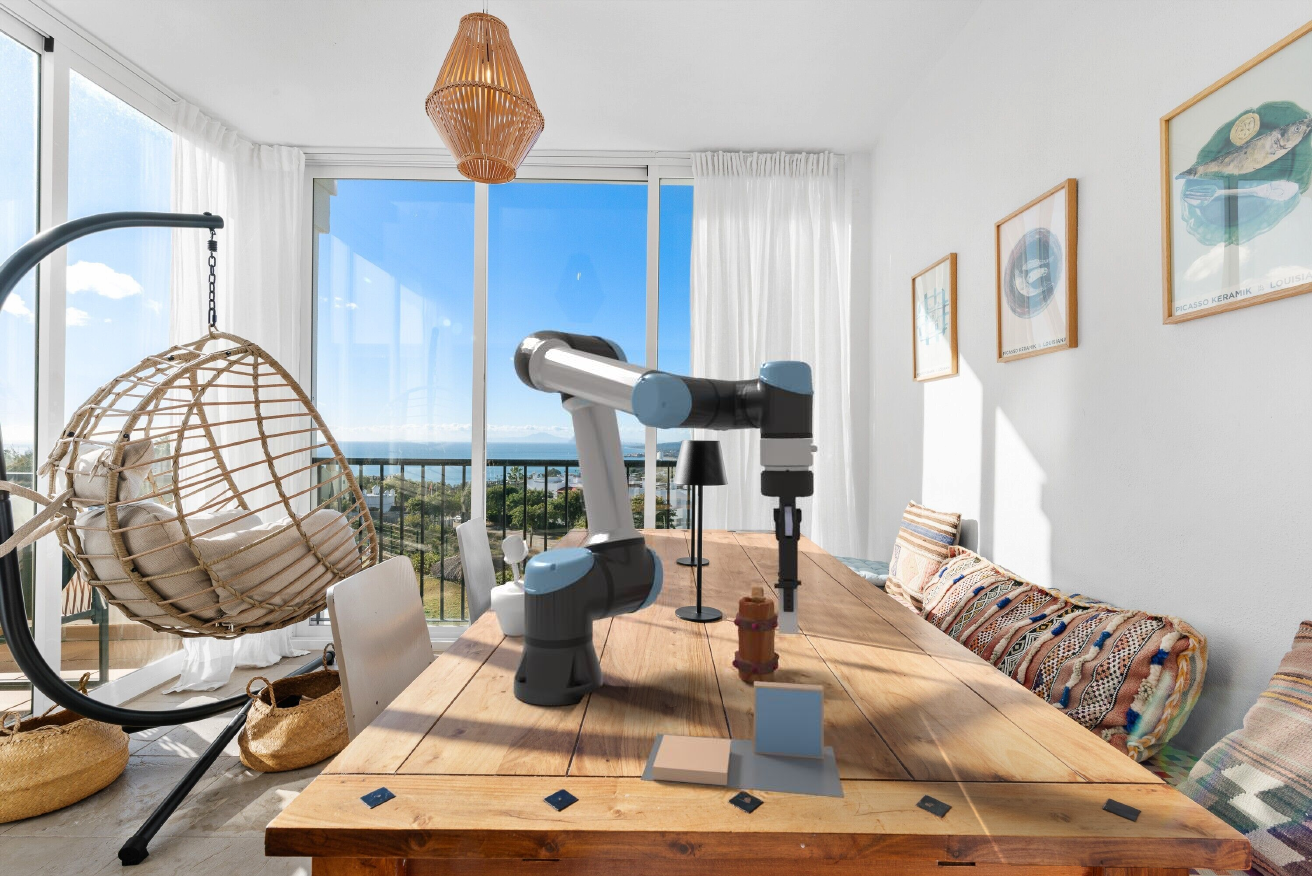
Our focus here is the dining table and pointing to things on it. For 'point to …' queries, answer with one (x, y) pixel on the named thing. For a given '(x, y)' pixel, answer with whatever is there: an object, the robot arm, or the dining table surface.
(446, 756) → the dining table surface
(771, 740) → the tile right
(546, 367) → the robot arm
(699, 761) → the tile left
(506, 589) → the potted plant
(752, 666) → the mug
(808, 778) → the slate board
